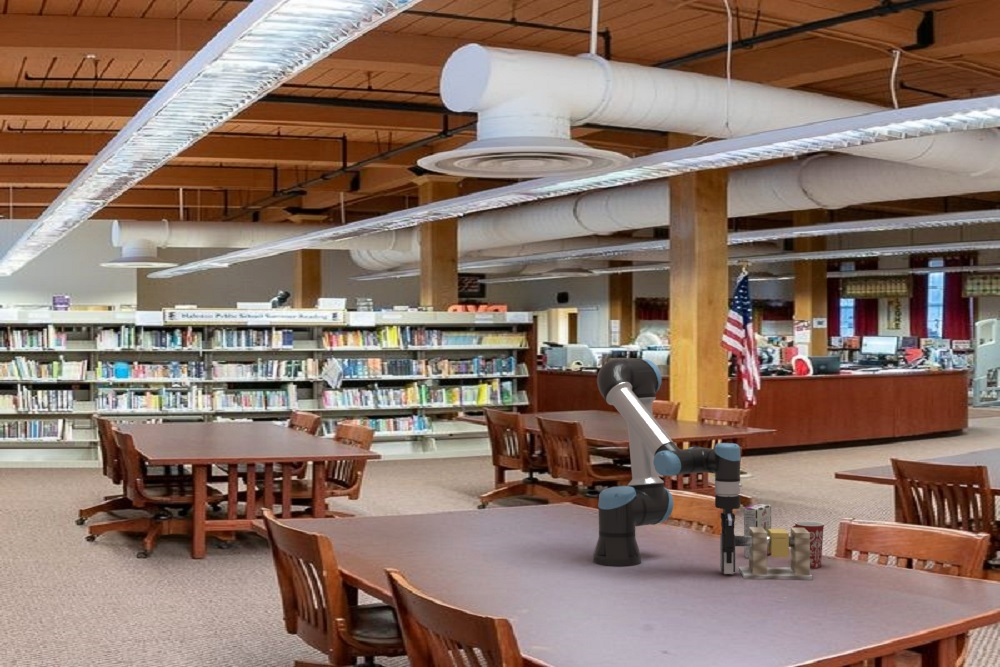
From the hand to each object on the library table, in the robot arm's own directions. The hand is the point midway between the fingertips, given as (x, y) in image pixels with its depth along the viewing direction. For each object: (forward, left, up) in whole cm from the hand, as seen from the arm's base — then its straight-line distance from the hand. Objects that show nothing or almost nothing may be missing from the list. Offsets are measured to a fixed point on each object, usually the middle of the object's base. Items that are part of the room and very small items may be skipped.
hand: (727, 571), depth 359 cm
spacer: (+15, 0, +5) cm, 16 cm away
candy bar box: (+13, +30, -1) cm, 33 cm away
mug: (+26, +16, -1) cm, 31 cm away
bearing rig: (+13, 0, -1) cm, 13 cm away
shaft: (+10, 0, 0) cm, 10 cm away
